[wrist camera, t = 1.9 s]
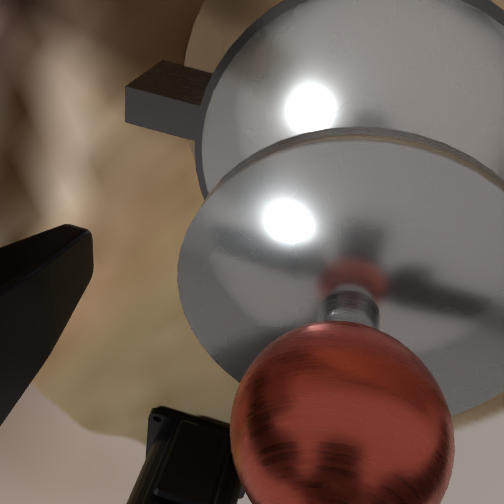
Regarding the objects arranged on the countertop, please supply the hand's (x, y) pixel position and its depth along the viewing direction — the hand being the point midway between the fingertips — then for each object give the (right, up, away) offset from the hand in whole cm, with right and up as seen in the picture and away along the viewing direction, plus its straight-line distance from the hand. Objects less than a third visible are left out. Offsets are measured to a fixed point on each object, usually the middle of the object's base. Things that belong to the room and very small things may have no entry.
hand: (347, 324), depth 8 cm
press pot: (+2, +5, +7) cm, 9 cm away
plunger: (0, +1, +1) cm, 1 cm away
